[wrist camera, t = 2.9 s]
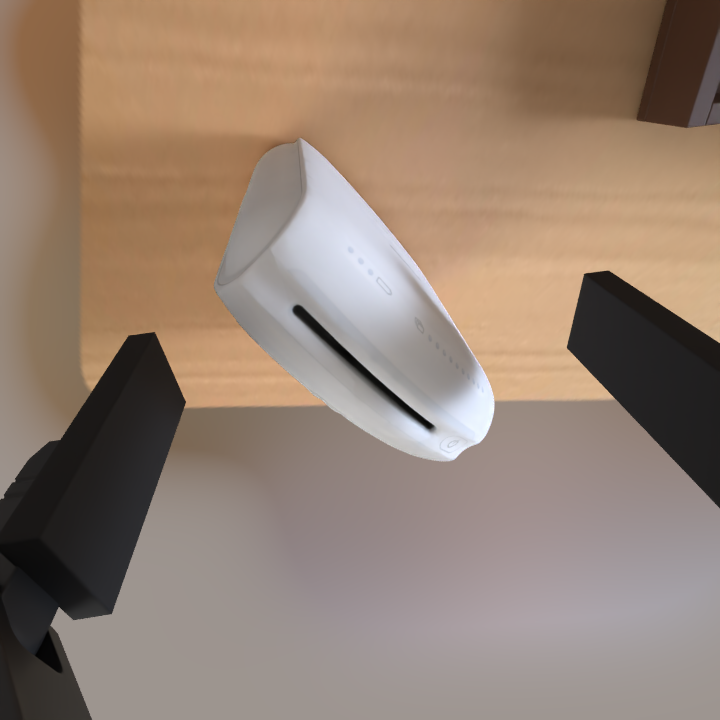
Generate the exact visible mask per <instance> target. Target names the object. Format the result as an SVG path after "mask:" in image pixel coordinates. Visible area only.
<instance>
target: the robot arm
mask: <svg viewBox="0 0 720 720" xmlns="http://www.w3.org/2000/svg"><path fill="white" fill-rule="evenodd" d="M567 348H568V350H569V351H570V352H571V353H572V354H573V355H574V356H575V357H576V358H577V359H578V360H579V361H580V362H581V363H582V364H583V365H584V366H585V367H586V368H587V369H588V371H589V372H590V373H591V374H592V375H593V376H594V377H595V378H596V379H597V380H598V381H599V382H600V383H601V384H602V385H603V386H604V387H605V388H606V389H607V390H608V391H609V393H610V394H611V395H612V396H613V397H614V398H615V399H616V400H617V401H618V402H619V403H620V404H621V405H622V406H623V407H624V408H625V409H626V410H627V411H628V412H629V413H630V415H631V416H632V417H633V418H634V419H635V420H636V421H637V422H638V423H639V424H640V425H641V426H642V427H643V428H644V429H645V430H646V431H647V432H648V433H649V434H650V436H651V437H652V438H653V439H654V440H655V441H656V442H657V443H658V444H659V445H660V446H661V447H662V448H663V449H664V450H665V451H666V452H667V453H668V454H669V455H670V457H671V458H672V459H673V460H674V461H675V462H676V463H677V464H678V465H679V466H680V467H681V468H682V469H683V470H684V471H685V472H686V473H687V474H688V475H689V476H690V477H691V478H692V480H694V482H695V483H696V484H697V485H698V486H699V487H700V488H701V489H702V490H703V491H704V492H705V493H706V494H707V495H708V496H709V497H710V498H711V499H712V501H714V502H715V504H716V505H717V506H718V507H719V508H720V343H718V342H717V341H715V340H714V339H712V338H711V337H709V336H708V335H706V334H705V333H703V332H702V331H700V330H699V329H697V328H696V327H694V326H692V325H691V324H689V323H688V322H686V321H685V320H683V319H682V318H680V317H679V316H677V315H676V314H674V313H673V312H671V311H670V310H668V309H666V308H665V307H663V306H662V305H660V304H659V303H657V302H656V301H654V300H653V299H651V298H650V297H648V296H647V295H645V294H644V293H642V292H640V291H639V290H637V289H636V288H634V287H633V286H631V285H630V284H628V283H627V282H625V281H624V280H622V279H621V278H619V277H618V276H616V275H614V274H613V273H611V272H610V271H601V272H593V273H586V274H584V277H583V281H582V286H581V290H580V294H579V298H578V303H577V307H576V311H575V315H574V320H573V324H572V328H571V332H570V337H569V341H568V345H567ZM185 403H186V401H185V399H184V397H183V395H182V392H181V390H180V388H179V386H178V383H177V381H176V379H175V376H174V374H173V372H172V370H171V367H170V365H169V363H168V361H167V358H166V356H165V354H164V352H163V349H162V347H161V345H160V343H159V340H158V338H157V336H156V334H155V332H152V333H145V334H137V335H130V336H128V337H127V339H126V341H125V342H124V344H123V345H122V347H121V348H120V350H119V351H118V353H117V354H116V356H115V357H114V359H113V360H112V362H111V363H110V365H109V367H108V368H107V370H106V371H105V373H104V374H103V376H102V377H101V379H100V380H99V382H98V383H97V385H96V386H95V388H94V389H93V391H92V392H91V394H90V396H89V397H88V399H87V400H86V402H85V403H84V405H83V406H82V408H81V409H80V411H79V412H78V414H77V416H76V417H75V418H74V420H73V422H72V423H71V425H70V426H69V428H68V429H67V431H66V432H65V434H64V435H63V437H62V438H61V440H58V441H51V442H48V443H47V444H46V445H45V446H44V447H42V448H41V449H40V450H39V451H38V452H37V453H36V454H35V455H33V456H32V457H31V458H30V459H29V460H28V461H27V463H26V464H25V465H24V467H23V468H22V470H21V471H20V473H19V474H18V476H17V477H16V478H15V480H16V481H15V482H13V483H12V484H11V485H10V487H9V488H8V490H7V491H6V493H5V494H4V499H1V500H0V720H92V718H91V716H90V713H89V711H88V708H87V706H86V703H85V701H84V698H83V696H82V694H81V691H80V688H79V686H78V683H77V681H76V678H75V676H74V673H73V671H72V668H71V666H70V663H69V661H68V658H67V656H66V653H65V651H64V648H63V646H62V643H61V641H60V638H59V636H58V633H57V632H56V631H55V630H54V629H53V628H52V627H51V626H50V625H51V623H52V620H53V618H54V616H55V614H56V611H57V609H58V607H60V608H61V609H62V610H63V611H64V612H65V613H67V615H68V616H70V617H71V618H72V619H73V620H77V619H84V618H90V617H96V616H102V615H108V614H112V612H113V609H114V605H115V603H116V600H117V597H118V594H119V592H120V589H121V586H122V583H123V580H124V577H125V574H126V571H127V569H128V566H129V563H130V560H131V557H132V555H133V552H134V548H135V546H136V543H137V540H138V537H139V535H140V532H141V529H142V526H143V523H144V520H145V517H146V515H147V512H148V509H149V506H150V503H151V500H152V497H153V495H154V492H155V489H156V486H157V483H158V480H159V478H160V475H161V472H162V469H163V466H164V463H165V460H166V458H167V455H168V452H169V449H170V446H171V443H172V440H173V438H174V435H175V432H176V429H177V426H178V423H179V421H180V417H181V415H182V412H183V409H184V406H185Z"/></svg>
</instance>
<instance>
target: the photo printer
mask: <svg viewBox="0 0 720 720" xmlns="http://www.w3.org/2000/svg"><path fill="white" fill-rule="evenodd" d="M214 289H215V291H216V293H217V295H218V296H219V297H220V299H221V300H222V302H223V303H224V304H225V306H226V307H227V309H228V310H229V311H230V313H231V314H232V315H233V316H234V318H235V319H236V321H237V322H238V323H239V325H240V326H241V327H242V328H243V329H244V330H245V331H246V332H247V333H248V334H249V336H250V337H251V338H252V339H253V340H254V341H255V342H256V343H257V344H258V345H259V346H260V347H261V348H262V349H263V350H264V351H265V352H267V353H268V354H269V355H270V356H271V357H272V358H273V359H274V360H275V361H276V362H277V363H278V364H279V365H281V366H282V367H283V368H284V369H285V370H286V371H287V372H288V373H289V374H291V375H292V376H293V377H294V378H295V379H296V380H298V381H299V382H300V383H301V384H302V385H304V386H305V387H306V388H307V389H308V390H309V391H310V392H311V393H312V394H313V395H314V396H316V397H317V398H319V399H321V400H322V401H324V402H325V403H326V405H327V406H328V407H330V408H331V409H332V410H334V411H336V412H338V413H340V414H341V415H343V416H344V417H345V418H347V419H348V420H349V421H351V422H352V423H354V424H355V425H357V426H358V427H359V428H361V429H362V430H364V431H366V432H367V433H369V434H371V435H372V436H374V437H376V438H377V439H379V440H381V441H383V442H385V443H386V444H388V445H390V446H392V447H394V448H396V449H398V450H401V451H403V452H405V453H408V454H411V455H414V456H417V457H421V458H425V459H430V460H435V461H452V460H454V459H456V457H457V456H458V455H459V454H460V453H461V452H462V451H463V450H465V449H466V448H468V447H470V446H472V445H475V444H478V443H479V442H481V440H482V439H483V438H484V437H485V435H486V433H487V432H488V430H489V427H490V425H491V421H492V418H493V414H494V397H493V392H492V389H491V386H490V383H489V381H488V379H487V377H486V375H485V373H484V371H483V369H482V367H481V366H480V364H479V362H478V361H477V359H476V358H475V356H474V354H473V353H472V351H471V350H470V348H469V346H468V345H467V343H466V341H465V340H464V338H463V337H462V335H461V333H460V332H459V330H458V329H457V327H456V325H455V324H454V322H453V321H452V319H451V317H450V316H449V314H448V313H447V311H446V309H445V308H444V306H443V305H442V303H441V301H440V300H439V298H438V297H437V295H436V293H435V292H434V290H433V289H432V287H431V285H430V284H429V282H428V281H427V279H426V278H425V276H424V275H423V273H422V272H421V270H420V269H419V267H418V266H417V264H416V263H415V262H414V260H413V259H412V258H411V256H410V255H409V254H408V253H407V251H406V250H405V249H404V248H403V246H402V245H401V244H400V243H399V241H398V240H397V239H396V238H395V236H394V235H393V234H392V233H391V231H390V230H389V229H388V228H387V227H386V225H385V224H384V223H383V222H382V220H381V219H380V218H379V217H378V216H377V215H376V214H375V212H374V211H373V210H372V209H371V208H370V207H369V205H368V204H367V203H366V202H365V201H364V200H363V198H362V197H361V196H360V195H359V194H358V193H357V192H356V191H355V189H354V188H353V187H352V186H351V185H350V184H349V183H348V182H347V181H346V180H345V179H344V177H343V176H342V175H341V174H340V173H339V172H338V171H337V170H336V169H335V168H334V167H333V166H332V164H331V163H330V162H329V161H328V160H327V159H326V158H325V157H324V156H323V155H322V154H320V153H319V152H318V151H317V150H316V149H315V148H314V147H312V146H311V145H310V144H309V143H307V142H306V141H305V140H303V139H302V138H298V139H297V140H296V142H295V143H294V144H293V143H287V144H282V145H279V146H276V147H274V148H272V149H271V150H269V151H268V152H267V153H265V154H264V155H263V156H262V157H261V159H260V160H259V161H258V163H257V165H256V167H255V169H254V171H253V174H252V177H251V180H250V183H249V186H248V189H247V192H246V194H245V196H244V198H243V201H242V204H241V206H240V210H239V213H238V216H237V219H236V221H235V224H234V227H233V230H232V233H231V236H230V239H229V242H228V244H227V247H226V250H225V252H224V255H223V258H222V261H221V264H220V267H219V270H218V273H217V276H216V279H215V282H214Z"/></svg>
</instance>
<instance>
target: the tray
mask: <svg viewBox="0 0 720 720" xmlns="http://www.w3.org/2000/svg"><path fill="white" fill-rule="evenodd" d="M637 120H638V121H646V122H651V123H658V124H664V125H671V126H677V127H684V128H690V127H698V126H704V125H713V124H720V0H667V3H666V7H665V11H664V15H663V19H662V23H661V27H660V30H659V34H658V38H657V42H656V46H655V50H654V54H653V58H652V61H651V65H650V69H649V73H648V77H647V81H646V85H645V89H644V93H643V96H642V100H641V104H640V108H639V112H638V116H637Z"/></svg>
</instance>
